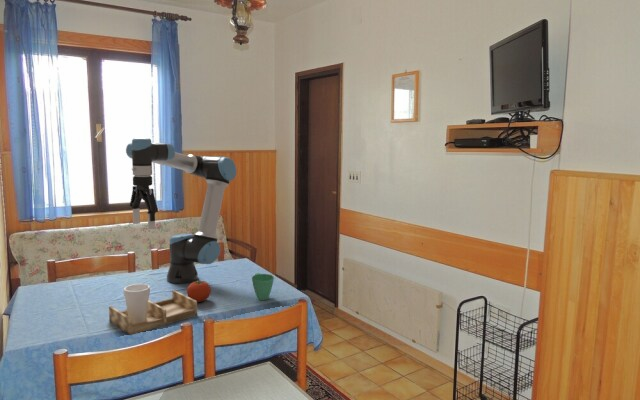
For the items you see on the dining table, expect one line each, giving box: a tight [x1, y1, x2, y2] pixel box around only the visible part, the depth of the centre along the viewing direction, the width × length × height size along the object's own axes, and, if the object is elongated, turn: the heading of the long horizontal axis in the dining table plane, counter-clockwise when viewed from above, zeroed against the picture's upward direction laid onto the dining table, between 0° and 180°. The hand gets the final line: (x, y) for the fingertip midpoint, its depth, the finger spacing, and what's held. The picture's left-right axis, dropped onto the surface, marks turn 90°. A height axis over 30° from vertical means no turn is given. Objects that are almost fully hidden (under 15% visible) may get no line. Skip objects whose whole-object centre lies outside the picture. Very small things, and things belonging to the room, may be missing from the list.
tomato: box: [186, 279, 212, 303], centre depth 202 cm, size 10×10×10 cm
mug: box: [251, 272, 275, 301], centre depth 210 cm, size 15×10×10 cm
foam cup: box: [123, 283, 151, 323], centre depth 177 cm, size 10×9×13 cm
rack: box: [108, 289, 198, 336], centre depth 183 cm, size 18×28×6 cm, turn 137°
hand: (144, 226), depth 191 cm, fingers open, 13 cm apart
